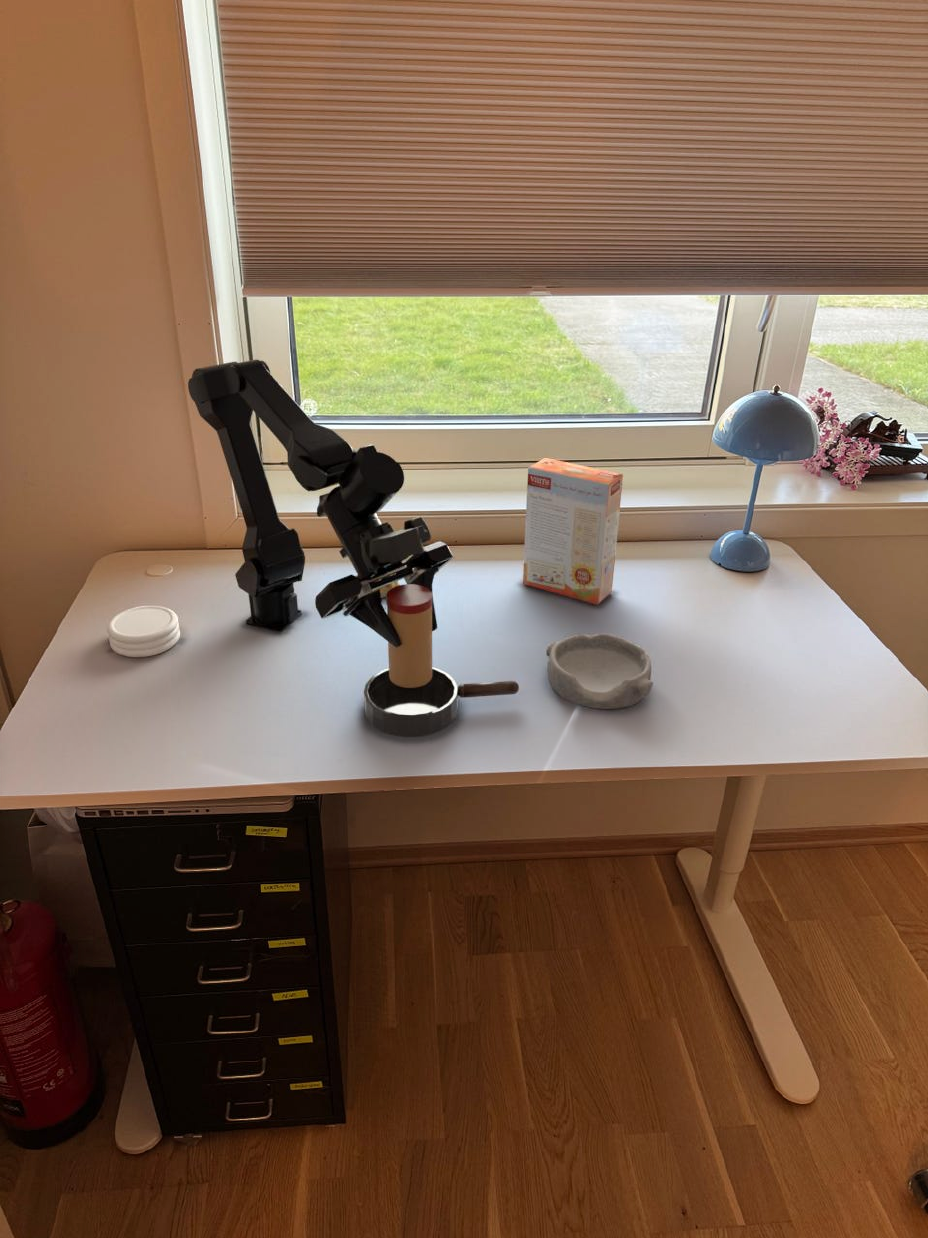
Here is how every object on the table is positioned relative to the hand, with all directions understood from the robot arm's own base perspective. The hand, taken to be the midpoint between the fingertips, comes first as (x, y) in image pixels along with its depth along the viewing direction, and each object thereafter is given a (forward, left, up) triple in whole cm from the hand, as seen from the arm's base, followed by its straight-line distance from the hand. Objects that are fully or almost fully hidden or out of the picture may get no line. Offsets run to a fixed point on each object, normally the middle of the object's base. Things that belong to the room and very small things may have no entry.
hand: (417, 637), depth 116 cm
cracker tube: (-1, +1, -6) cm, 7 cm away
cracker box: (+8, +43, -12) cm, 45 cm away
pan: (-1, +1, -12) cm, 12 cm away
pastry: (-21, +29, -12) cm, 38 cm away
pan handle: (+8, +6, -10) cm, 14 cm away
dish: (+20, +17, -12) cm, 29 cm away
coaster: (-45, +2, -12) cm, 47 cm away
